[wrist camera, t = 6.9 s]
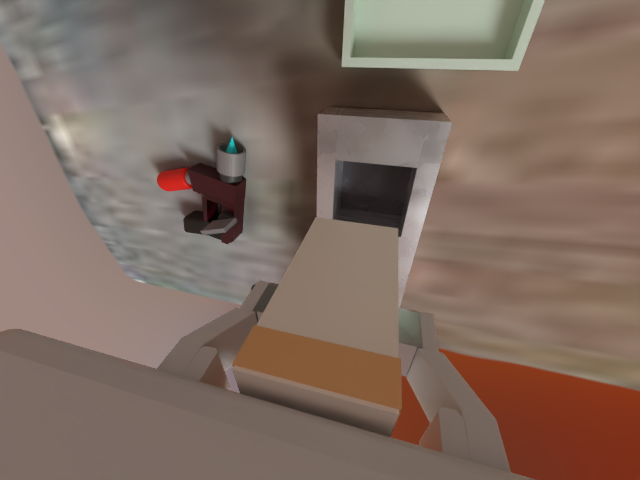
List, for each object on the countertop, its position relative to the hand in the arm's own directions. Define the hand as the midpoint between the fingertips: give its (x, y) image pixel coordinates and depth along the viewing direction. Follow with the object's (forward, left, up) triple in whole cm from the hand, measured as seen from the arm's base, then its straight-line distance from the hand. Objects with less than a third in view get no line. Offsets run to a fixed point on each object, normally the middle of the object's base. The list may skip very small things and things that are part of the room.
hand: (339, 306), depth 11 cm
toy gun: (+17, +2, -15) cm, 22 cm away
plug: (0, 0, -4) cm, 4 cm away
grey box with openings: (+3, +4, -14) cm, 15 cm away
